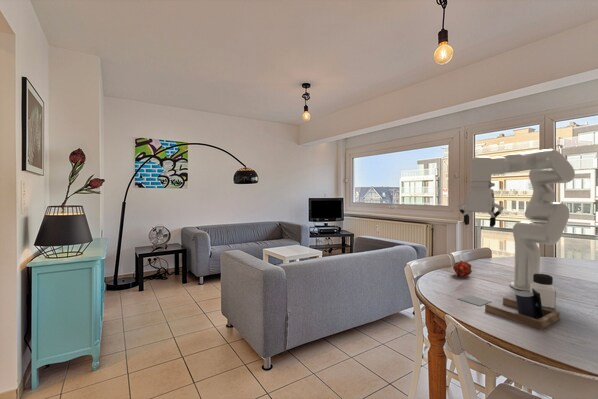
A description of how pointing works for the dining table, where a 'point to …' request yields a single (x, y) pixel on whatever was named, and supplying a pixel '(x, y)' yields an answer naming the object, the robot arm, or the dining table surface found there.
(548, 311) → the walled lane
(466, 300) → the mat
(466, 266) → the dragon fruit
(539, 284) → the medicine bottle
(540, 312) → the speaker
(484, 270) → the dining table surface
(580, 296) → the dining table surface
